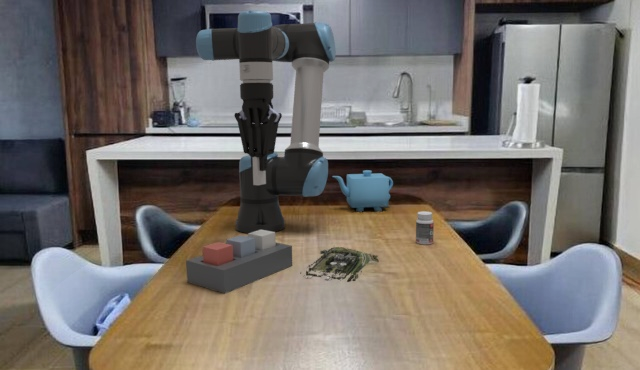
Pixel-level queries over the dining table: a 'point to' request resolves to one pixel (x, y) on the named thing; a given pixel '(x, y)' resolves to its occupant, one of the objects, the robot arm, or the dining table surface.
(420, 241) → the pill bottle
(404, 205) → the dining table surface
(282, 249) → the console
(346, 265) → the treatment plant
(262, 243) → the white key
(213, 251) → the red key
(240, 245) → the blue key
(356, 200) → the teapot
